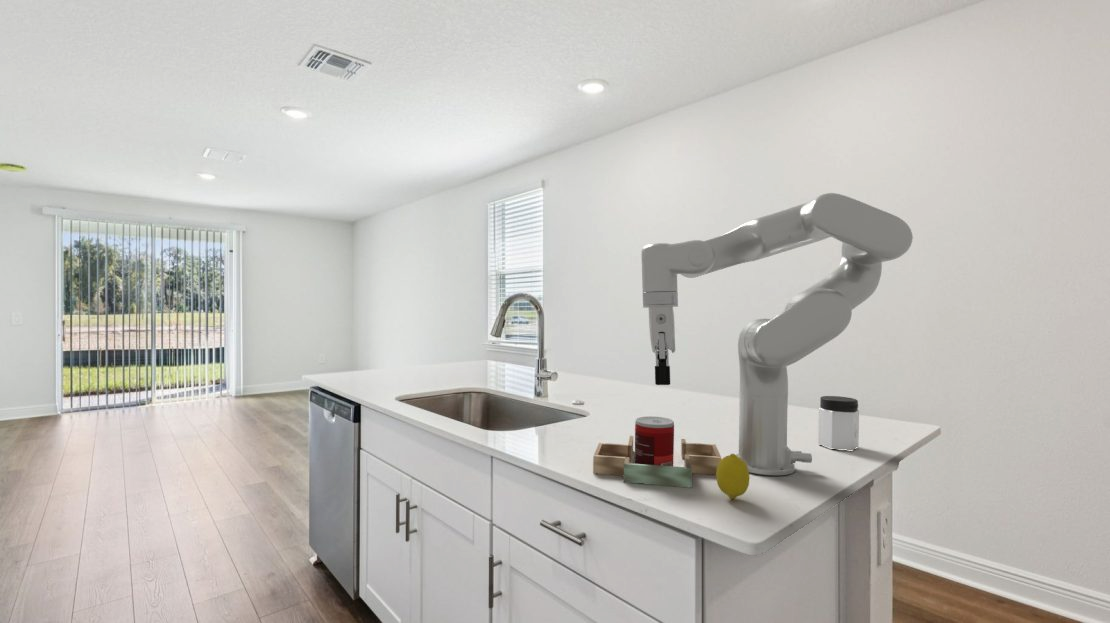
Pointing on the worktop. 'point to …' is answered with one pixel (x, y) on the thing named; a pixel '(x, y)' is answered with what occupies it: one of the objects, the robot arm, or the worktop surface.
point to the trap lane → (619, 456)
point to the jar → (838, 422)
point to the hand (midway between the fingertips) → (662, 384)
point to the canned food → (654, 441)
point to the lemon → (732, 476)
